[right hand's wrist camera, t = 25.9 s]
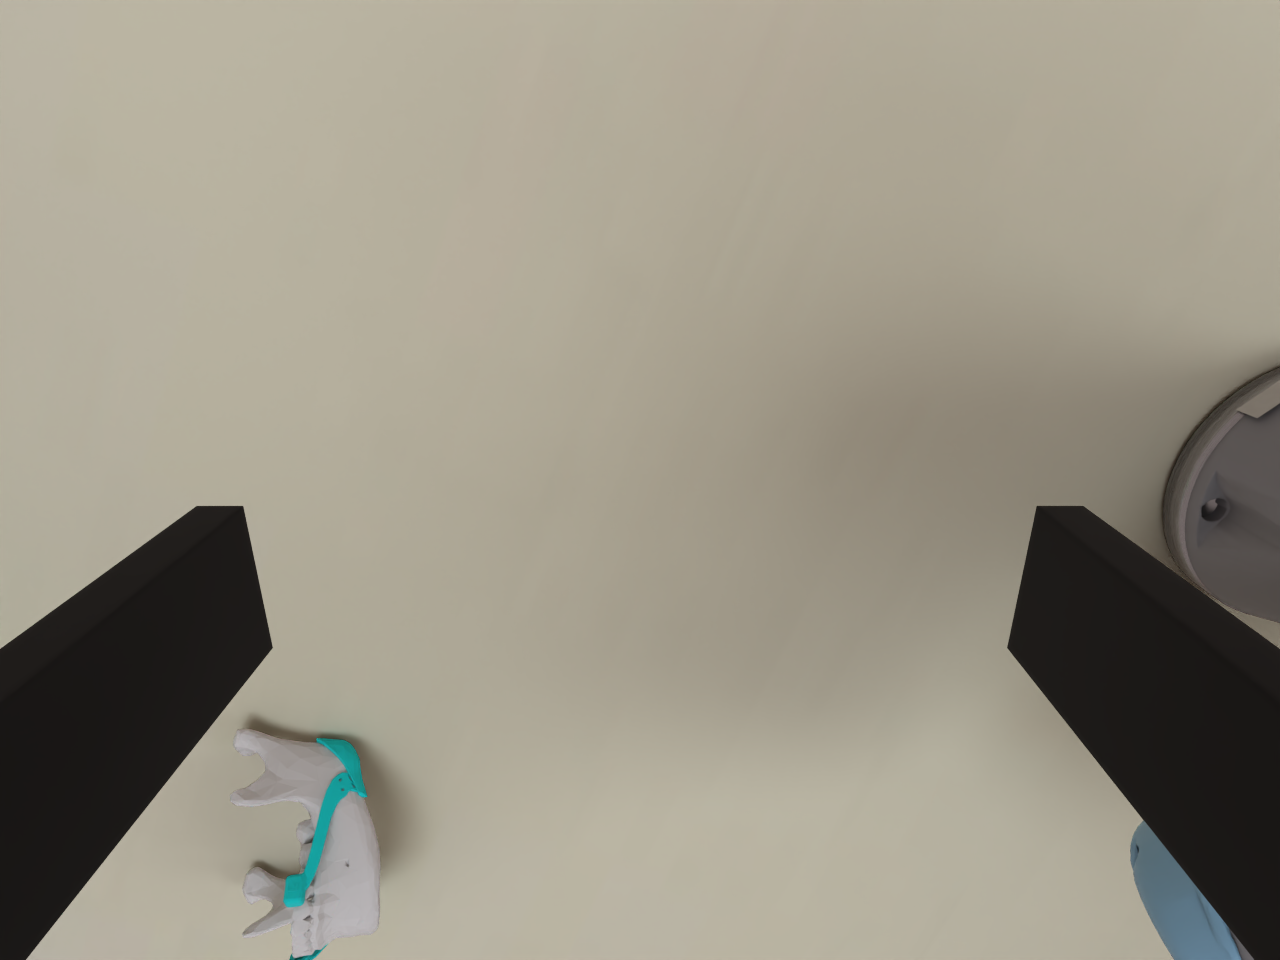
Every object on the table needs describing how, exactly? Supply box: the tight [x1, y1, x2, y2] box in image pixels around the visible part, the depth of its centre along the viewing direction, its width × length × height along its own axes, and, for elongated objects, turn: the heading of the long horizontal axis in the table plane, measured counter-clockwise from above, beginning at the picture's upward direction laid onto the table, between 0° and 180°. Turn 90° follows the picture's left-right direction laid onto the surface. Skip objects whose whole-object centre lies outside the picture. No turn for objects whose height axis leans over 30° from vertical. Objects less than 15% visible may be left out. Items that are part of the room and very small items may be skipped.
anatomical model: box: [230, 729, 381, 960], centre depth 48 cm, size 15×10×10 cm
